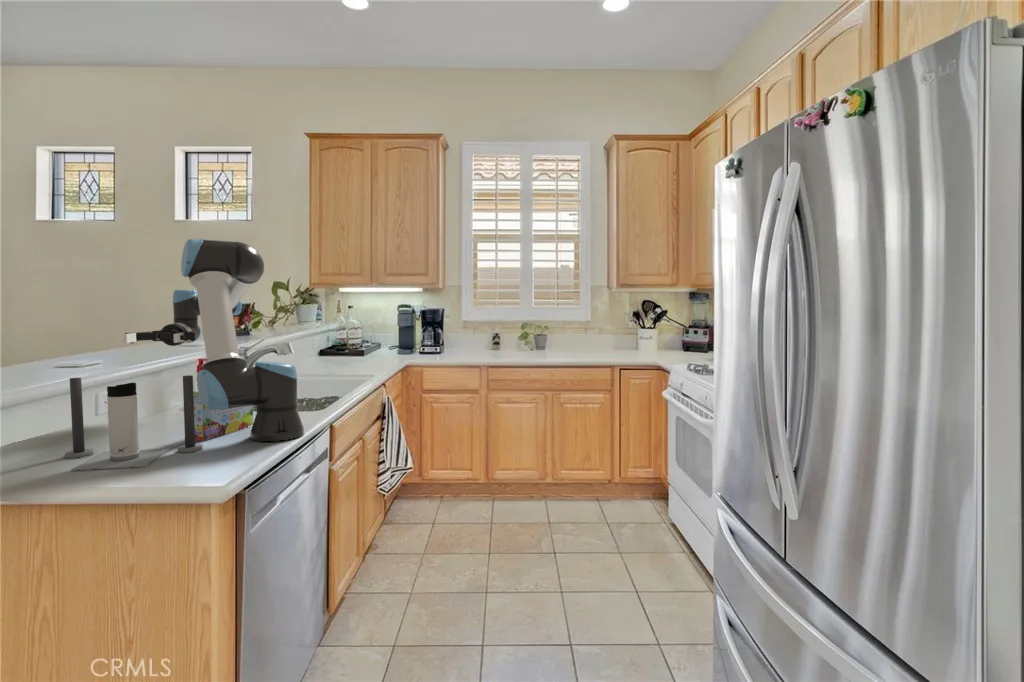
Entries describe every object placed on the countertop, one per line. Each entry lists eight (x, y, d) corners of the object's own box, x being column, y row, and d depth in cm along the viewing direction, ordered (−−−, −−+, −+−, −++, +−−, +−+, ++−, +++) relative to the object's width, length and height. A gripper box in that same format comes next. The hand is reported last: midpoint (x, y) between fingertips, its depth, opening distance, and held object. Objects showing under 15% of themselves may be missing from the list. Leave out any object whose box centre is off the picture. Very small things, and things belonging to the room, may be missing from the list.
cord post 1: (99, 453, 147) (95, 377, 146) (77, 459, 141) (73, 380, 140) (81, 451, 148) (77, 376, 147) (58, 457, 142) (54, 379, 141)
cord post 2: (207, 448, 153) (205, 374, 152) (191, 453, 147) (188, 377, 146) (189, 446, 155) (187, 374, 153) (172, 452, 149) (169, 376, 147)
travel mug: (125, 462, 137) (121, 384, 136) (103, 460, 139) (100, 383, 137) (146, 455, 144) (143, 381, 142) (125, 453, 145) (122, 380, 143)
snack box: (205, 442, 160) (203, 391, 159) (189, 440, 161) (187, 391, 160) (254, 426, 181) (253, 381, 180) (240, 425, 182) (239, 381, 181)
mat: (169, 450, 151) (169, 448, 151) (144, 467, 135) (144, 465, 135) (104, 453, 147) (103, 451, 147) (70, 471, 131) (70, 469, 131)
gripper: (215, 344, 190) (195, 350, 169) (135, 345, 184) (104, 351, 164) (215, 323, 189) (194, 326, 169) (134, 323, 184) (103, 326, 163)
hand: (150, 338), depth 166 cm, fingers open, 13 cm apart
